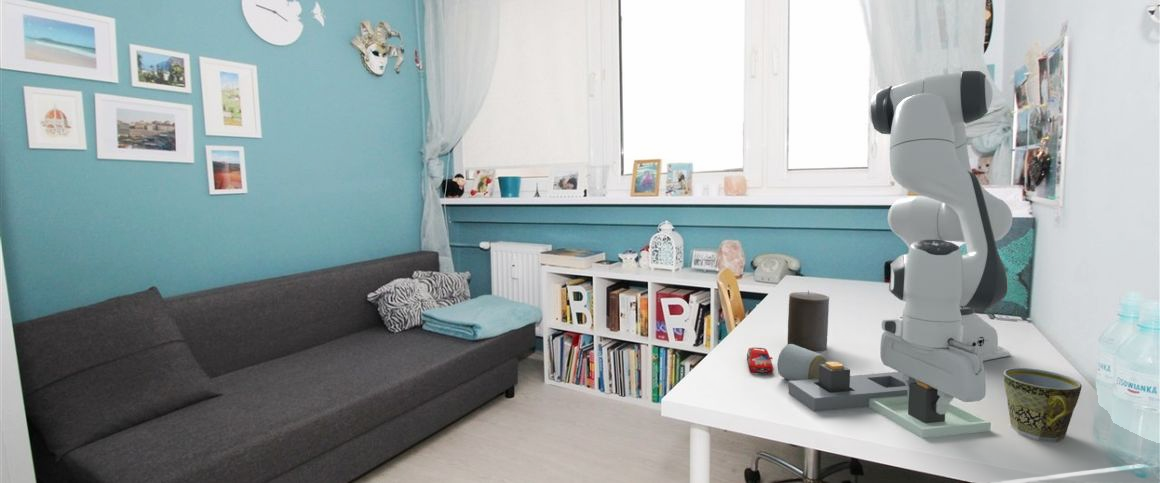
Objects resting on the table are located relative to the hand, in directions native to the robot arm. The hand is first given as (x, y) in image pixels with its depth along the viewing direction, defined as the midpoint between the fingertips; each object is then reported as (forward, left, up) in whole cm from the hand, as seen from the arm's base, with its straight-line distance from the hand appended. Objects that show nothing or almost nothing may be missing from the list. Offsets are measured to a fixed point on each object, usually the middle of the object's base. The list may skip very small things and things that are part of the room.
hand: (926, 405), depth 98 cm
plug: (0, 0, -2) cm, 2 cm away
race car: (+15, -33, -3) cm, 36 cm away
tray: (0, 0, -3) cm, 3 cm away
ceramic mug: (+10, -22, -3) cm, 25 cm away
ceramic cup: (-13, +10, -3) cm, 17 cm away
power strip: (+2, -11, -3) cm, 11 cm away
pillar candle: (-4, -44, -3) cm, 44 cm away
